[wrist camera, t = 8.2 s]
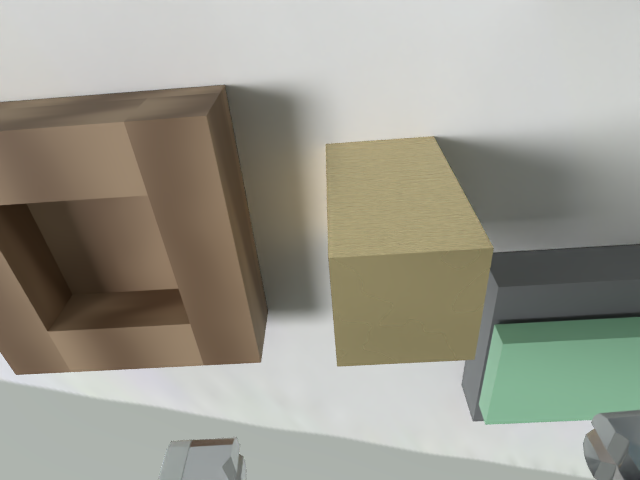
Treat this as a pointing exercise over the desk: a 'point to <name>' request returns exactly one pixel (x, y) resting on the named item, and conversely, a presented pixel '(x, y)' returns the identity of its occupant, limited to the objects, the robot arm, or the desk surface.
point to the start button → (561, 370)
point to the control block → (553, 295)
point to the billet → (402, 254)
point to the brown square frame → (126, 234)
